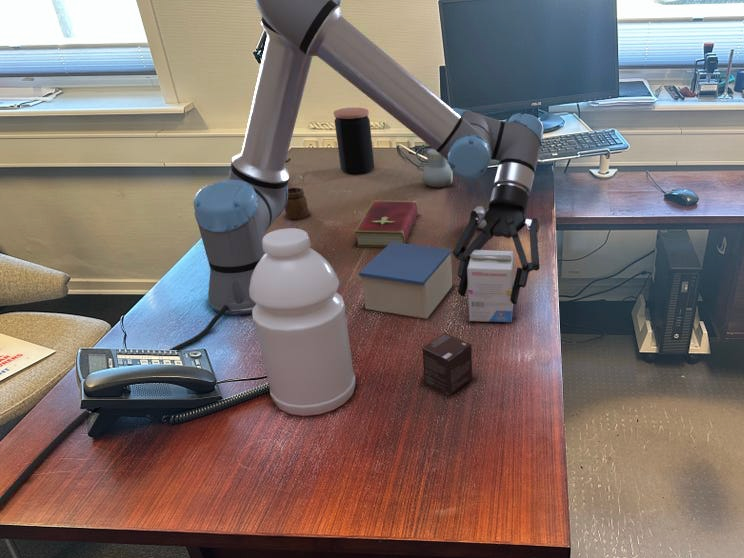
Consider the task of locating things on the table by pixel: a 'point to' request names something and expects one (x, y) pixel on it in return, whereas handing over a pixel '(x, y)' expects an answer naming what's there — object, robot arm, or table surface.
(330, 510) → the table surface
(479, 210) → the white bust figurine
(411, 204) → the hardcover book
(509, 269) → the ink box
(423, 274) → the storage box lid
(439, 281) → the storage box
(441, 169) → the air freshener
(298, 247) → the bottle
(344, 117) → the coffee jar
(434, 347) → the box
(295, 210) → the utensil holder
